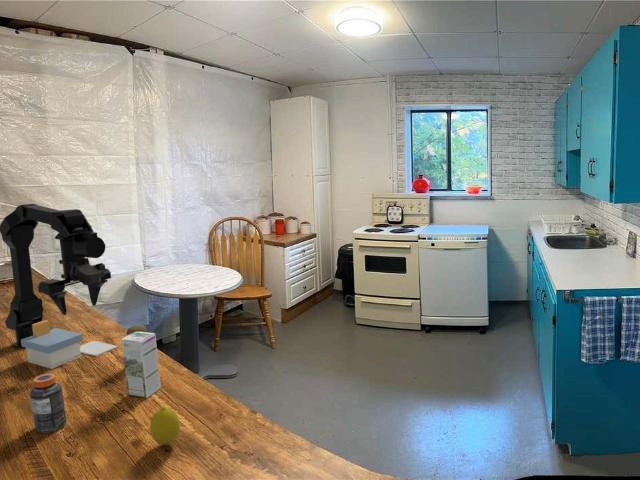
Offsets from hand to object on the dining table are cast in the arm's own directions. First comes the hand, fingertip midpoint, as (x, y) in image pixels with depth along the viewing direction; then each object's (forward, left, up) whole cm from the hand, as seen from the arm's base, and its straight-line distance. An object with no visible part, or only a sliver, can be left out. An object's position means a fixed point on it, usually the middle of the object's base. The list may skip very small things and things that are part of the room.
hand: (79, 309), depth 139 cm
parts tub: (-8, -4, -15) cm, 17 cm away
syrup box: (+32, -7, -15) cm, 36 cm away
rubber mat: (-4, +6, -15) cm, 17 cm away
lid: (-8, -4, -10) cm, 14 cm away
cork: (+18, +4, -15) cm, 23 cm away
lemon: (+54, -21, -15) cm, 60 cm away
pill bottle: (+26, -27, -15) cm, 40 cm away
